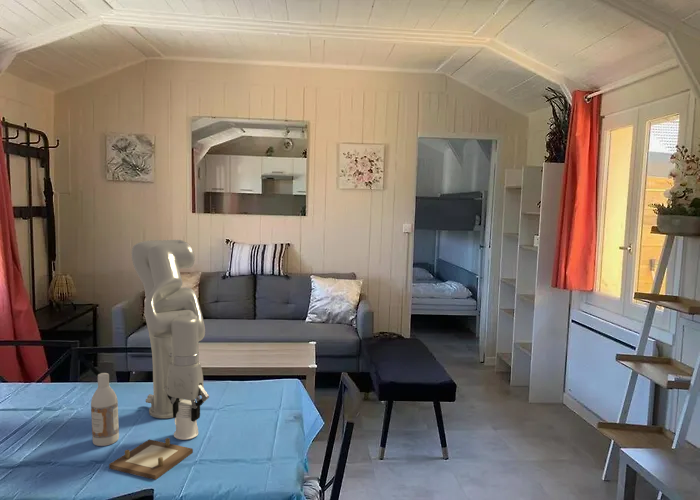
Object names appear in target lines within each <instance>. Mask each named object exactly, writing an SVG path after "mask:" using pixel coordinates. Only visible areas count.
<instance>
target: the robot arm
mask: <svg viewBox="0 0 700 500" xmlns="http://www.w3.org/2000/svg"><path fill="white" fill-rule="evenodd" d="M195 260H196V259H195V251H194V249H193V247H192V246H191V245H190V244H189V243H188V242H186V241H184V240H181V239H163V240H161V239H160V240H159V239H157V240H144V241H140V242H138V243H136V244H134V245H133V247H132V249H131V261H132V265H133V268H134V271H135V272H136V274H137V276H138V278H139V280H140V281H141V283H142V286H143V290H144V294H145V302H144V316H145V323H146V326H147V330H148V336H149V342H150V347H151V348H150V349H151V356H152V357H151V358H152V383H153V387H152V388H153V389H152V390H153V394H151V393H150V394H148V395H147V396H146V397H147V398H145V403H147V404H151V406H150V407H149V409H148V414H149V416H151V417H152V418H155V419H171V418H172V419H173V418H174V419H175V417H176V414H177V412H178V411H179V410H178V409H179V402H180V401H182V400H191V403H192V406H193V408H192V409H191V420H192V421H193V422H194V421H196V420H199V419H200V417H201V406H202V405H203V404H204V403H205V402H206V401H207V400H208V399H209V398H210V395H209V394H208V392H207V391H206V389H205V388H204V375H203V374H204V373H203V368H202V364H201V362H200V353H199V352H200V351H199V350H200V349H199V342H200V341H202V340H204V338H205V335H206V327H205V326H206V325H205V322H204V317H203V313H202V310H201V306H200V302H199V299H198V296H197V293H196V291H194V289H192V288H191V287H182V286H183V279H182V276H181V271H180V269H189V268H192V267H193V266H194V264H195ZM200 396H201V397H200Z"/></svg>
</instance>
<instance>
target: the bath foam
mask: <svg viewBox="0 0 700 500" xmlns="http://www.w3.org/2000/svg"><path fill="white" fill-rule="evenodd" d="M90 400H91V401H90V410H91V412H90V415H91V435H92V443H93V445H94V446H97V447H105V446H110V445H113V444H114V443H116V442H118V441H119V438H120V431H119V430H120V427H119V406H118V405H119V402H118V396H117V394H116V392H115V390H114V389H113V388H112V387H111V386H110V374H109V373H107V372H101V373H98V374H97V389H96V390H95V392H94V393H93V395H92V397H91V399H90Z"/></svg>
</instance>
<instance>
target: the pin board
mask: <svg viewBox="0 0 700 500" xmlns="http://www.w3.org/2000/svg"><path fill="white" fill-rule="evenodd" d="M164 441H165V442H164ZM164 441H160V440H154V439H151V438H150V439H147V440H146V441H144V442H143V443H140V445H137V446H135V448H133V449H131V450H130V449H125V450H124V454H123V455H121V456H120V457H118V458H116V459H115V460H113V461H112V462H110V463H109V464H108V468H109V469H110V470H114V471H117V472H121V473H126V474H129V475H134V476H139V477H142V478H147V479H151V480H155V481H156V480H157V479H159V478H160V477H162V476H164V474H166V473H167V472H168V471H170V470H171V469H173V468H174V467H175V466H177V465H178V464H179V463H182V461H184V460H185V459H186V458H188V457H189V456H191V455H192V454H193V453H194V452H193V451H194V449H193V448H191V447H187V446H183V445H177V444H173V443H171V438H169V437H166V438H165V439H164Z"/></svg>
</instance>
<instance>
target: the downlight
mask: <svg viewBox="0 0 700 500" xmlns="http://www.w3.org/2000/svg"><path fill="white" fill-rule="evenodd" d="M192 408H193V406H192V403H191V400H185V399H184V400H182V401H180V402H179V409H178V410H179V411H178V412H177V414H176V417H175V418H174V424H175V431H174V433H173V437H174V438H176V439H177V440H183V441H185V440H192V439H194V438H195V437H197V436H199V427H198V424H197V420H198V419H197V420H196V421H194V422H193V421H192V420H191V409H192Z"/></svg>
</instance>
